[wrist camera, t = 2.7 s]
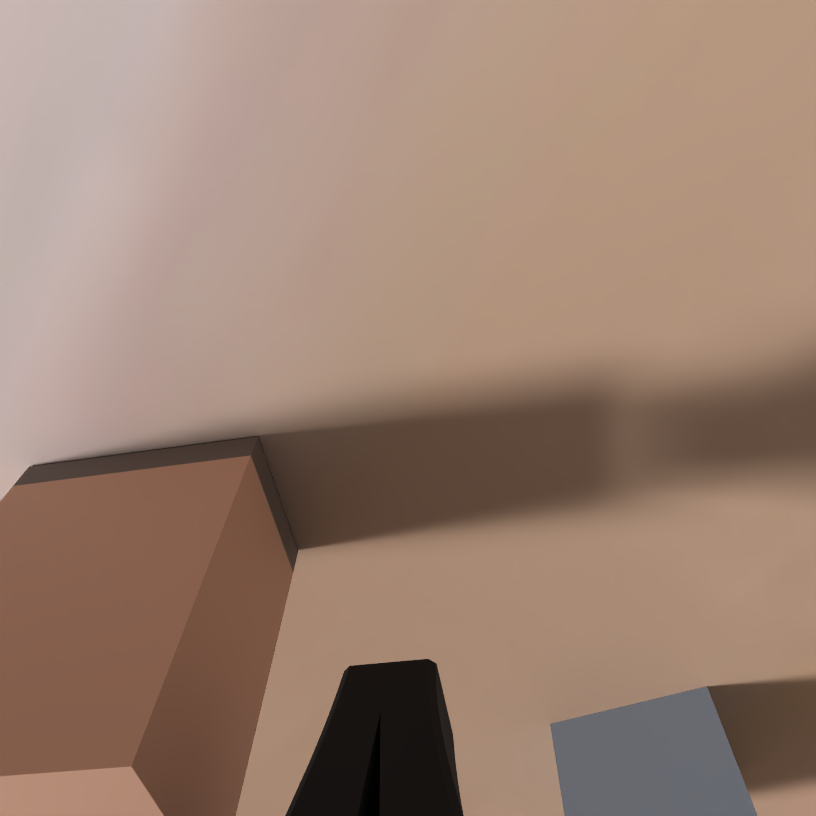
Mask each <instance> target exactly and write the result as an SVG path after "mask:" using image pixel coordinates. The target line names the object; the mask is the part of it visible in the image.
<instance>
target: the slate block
mask: <svg viewBox="0 0 816 816" xmlns="http://www.w3.org/2000/svg"><path fill="white" fill-rule="evenodd" d="M550 726H551V732H552V738H553V745H554V751H555V757H556V764H557V770H558V776H559V782H560V789H561V795H562V801H563V808H564V814H565V816H757V813H756V811H755V808H754V806H753V803H752V801H751V798H750V795H749V793H748V790H747V788H746V785H745V783H744V780H743V777H742V775H741V772H740V770H739V767H738V765H737V762H736V759H735V757H734V754H733V752H732V749H731V747H730V744H729V742H728V739H727V736H726V734H725V731H724V729H723V726H722V724H721V721H720V718H719V716H718V713H717V711H716V708H715V706H714V703H713V700H712V698H711V695H710V693H709V690H708V688H707V686H706V687H702V688H698V689H694V690H690V691H686V692H681V693H677V694H673V695H669V696H665V697H661V698H656V699H652V700H648V701H644V702H640V703H636V704H631V705H627V706H623V707H619V708H615V709H610V710H606V711H602V712H598V713H594V714H590V715H585V716H581V717H577V718H573V719H569V720H565V721H560V722H556V723H552V724H550Z"/></svg>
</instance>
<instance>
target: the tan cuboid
mask: <svg viewBox="0 0 816 816" xmlns="http://www.w3.org/2000/svg"><path fill="white" fill-rule="evenodd" d="M297 554H298V550H297V547H296V544H295V541H294V538H293V535H292V533H291V530H290V527H289V524H288V521H287V518H286V515H285V513H284V510H283V507H282V504H281V501H280V498H279V495H278V492H277V490H276V487H275V484H274V481H273V478H272V475H271V472H270V469H269V467H268V464H267V461H266V458H265V455H264V452H263V449H262V447H261V444H260V441H259V438H258V437H251V438H243V439H236V440H228V441H221V442H213V443H205V444H198V445H190V446H183V447H175V448H168V449H160V450H152V451H145V452H137V453H130V454H122V455H114V456H107V457H99V458H92V459H84V460H77V461H69V462H61V463H54V464H46V465H39V466H31V467H29V468H28V469H27V470H26V471H25V472H24V474H23V475H22V476H21V477H20V478H19V480H18V481H17V482H16V483H15V485H14V486H13V487H12V488H11V489H10V491H9V492H8V493H7V494H6V495H5V497H4V498H3V499H2V500H1V501H0V816H235V815H236V811H237V807H238V803H239V798H240V794H241V790H242V786H243V782H244V777H245V773H246V769H247V765H248V760H249V756H250V752H251V748H252V744H253V739H254V735H255V731H256V727H257V722H258V718H259V714H260V710H261V706H262V701H263V697H264V693H265V689H266V684H267V680H268V676H269V672H270V668H271V663H272V659H273V655H274V651H275V647H276V642H277V638H278V634H279V630H280V625H281V621H282V617H283V613H284V609H285V604H286V600H287V596H288V592H289V587H290V583H291V579H292V575H293V571H294V566H295V562H296V558H297Z"/></svg>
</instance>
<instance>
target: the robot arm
mask: <svg viewBox="0 0 816 816" xmlns="http://www.w3.org/2000/svg"><path fill="white" fill-rule="evenodd" d="M285 816H463V810H462V805H461V799H460V793H459V786H458V779H457V771H456V763H455V753H454V742H453V733H452V729H451V725H450V720H449V716H448V712H447V707H446V703H445V699H444V694H443V690H442V686H441V681H440V677H439V673H438V668H437V664H436V663H434V662H433V661H431V660H429V659H423V660H411V661H400V662H389V663H377V664H366V665H355V666H349V667H348V668H347V669H346V670H345V671H344V673H343V676H342V679H341V682H340V685H339V688H338V691H337V694H336V697H335V700H334V702H333V705H332V708H331V710H330V713H329V716H328V718H327V721H326V723H325V726H324V728H323V731H322V733H321V736H320V738H319V741H318V743H317V746H316V748H315V750H314V753H313V755H312V758H311V760H310V762H309V765H308V767H307V769H306V771H305V773H304V776H303V778H302V780H301V782H300V785H299V787H298V789H297V791H296V793H295V796H294V798H293V800H292V802H291V805H290V807H289V809H288V811H287V813H286V815H285Z"/></svg>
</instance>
